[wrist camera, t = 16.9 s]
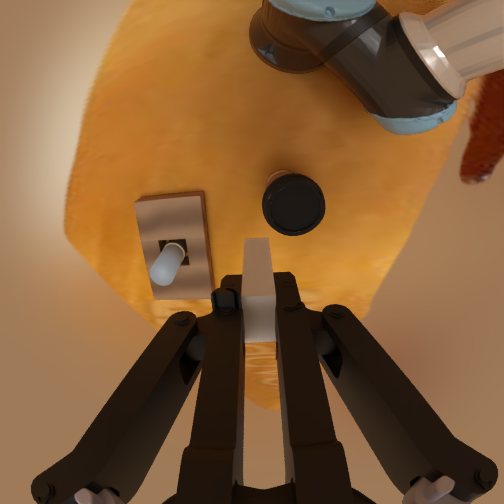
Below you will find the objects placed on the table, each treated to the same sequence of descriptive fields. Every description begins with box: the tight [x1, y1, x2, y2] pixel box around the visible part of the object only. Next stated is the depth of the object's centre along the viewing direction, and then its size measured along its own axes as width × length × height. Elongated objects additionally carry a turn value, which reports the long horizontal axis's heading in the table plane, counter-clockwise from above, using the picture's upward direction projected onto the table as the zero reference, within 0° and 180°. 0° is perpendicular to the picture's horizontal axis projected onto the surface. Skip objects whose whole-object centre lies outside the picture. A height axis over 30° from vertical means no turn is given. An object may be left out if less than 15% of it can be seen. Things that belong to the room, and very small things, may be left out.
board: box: [134, 191, 215, 300], centre depth 51 cm, size 20×12×4 cm, turn 3°
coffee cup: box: [262, 170, 325, 236], centre depth 41 cm, size 8×8×15 cm
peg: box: [150, 239, 187, 286], centre depth 47 cm, size 4×4×12 cm
